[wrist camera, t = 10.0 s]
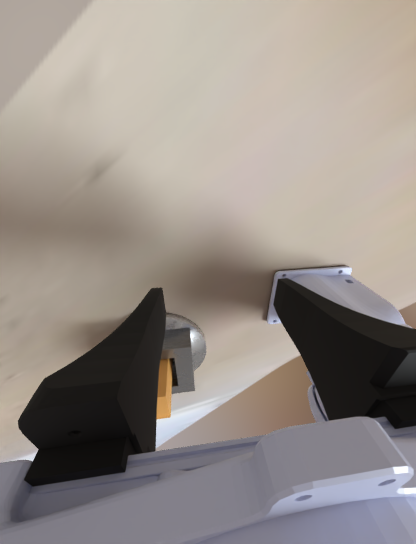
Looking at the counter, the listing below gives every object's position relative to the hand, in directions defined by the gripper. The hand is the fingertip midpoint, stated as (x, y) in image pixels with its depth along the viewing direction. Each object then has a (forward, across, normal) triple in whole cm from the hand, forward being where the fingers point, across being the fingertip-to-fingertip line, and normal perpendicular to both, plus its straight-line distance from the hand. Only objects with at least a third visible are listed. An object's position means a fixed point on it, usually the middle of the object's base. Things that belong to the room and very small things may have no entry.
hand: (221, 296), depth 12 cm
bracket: (+9, +6, +15) cm, 19 cm away
